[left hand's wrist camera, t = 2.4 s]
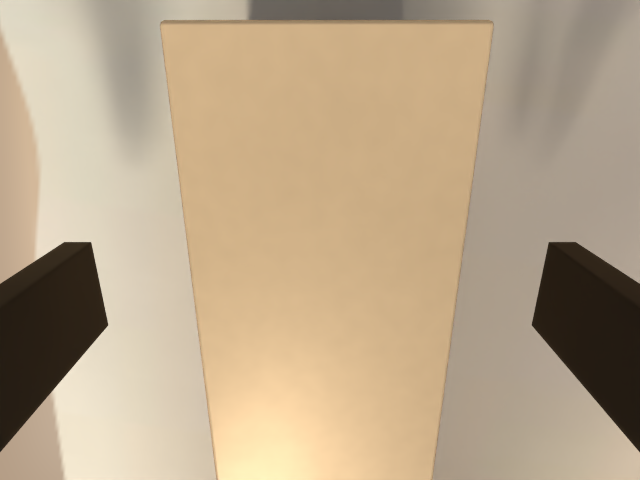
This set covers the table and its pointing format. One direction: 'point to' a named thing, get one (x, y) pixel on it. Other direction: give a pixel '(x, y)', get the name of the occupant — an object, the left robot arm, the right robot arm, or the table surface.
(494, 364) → the table surface
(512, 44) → the table surface
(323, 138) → the beam
